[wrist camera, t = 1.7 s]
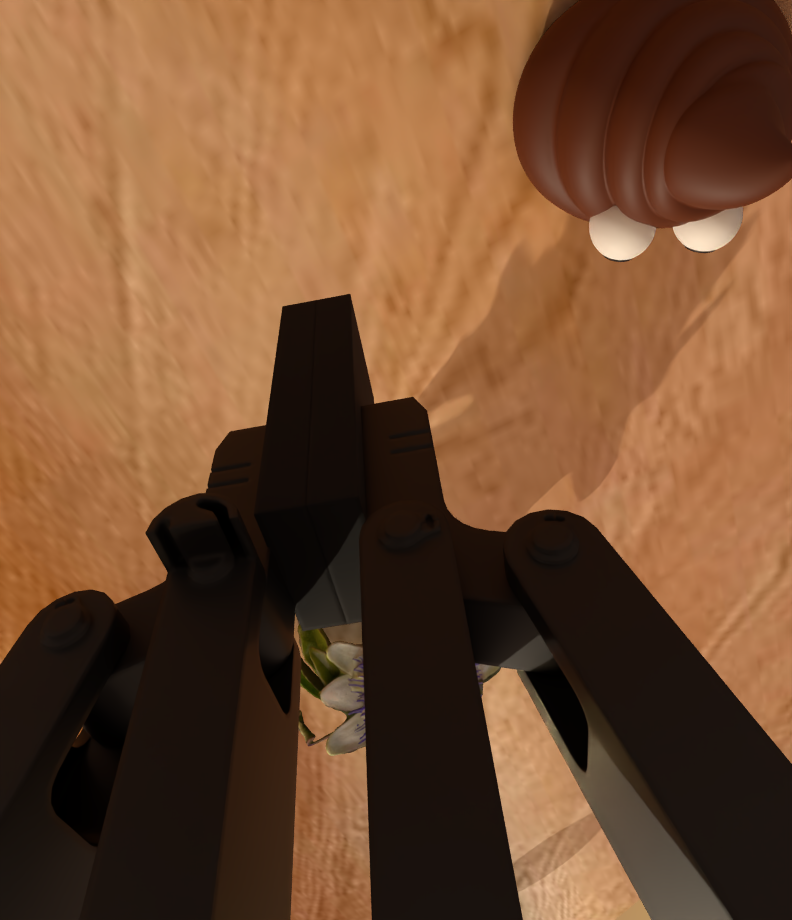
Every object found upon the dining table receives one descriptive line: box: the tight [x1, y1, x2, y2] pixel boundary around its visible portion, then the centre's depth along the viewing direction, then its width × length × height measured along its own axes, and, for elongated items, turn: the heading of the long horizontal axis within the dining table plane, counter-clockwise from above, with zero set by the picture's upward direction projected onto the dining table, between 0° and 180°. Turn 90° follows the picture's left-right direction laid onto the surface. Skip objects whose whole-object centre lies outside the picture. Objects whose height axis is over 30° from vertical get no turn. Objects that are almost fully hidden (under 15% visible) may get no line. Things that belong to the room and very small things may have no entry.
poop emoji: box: [513, 0, 792, 262], centre depth 22 cm, size 10×8×9 cm
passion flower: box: [298, 624, 501, 756], centre depth 42 cm, size 11×11×12 cm
